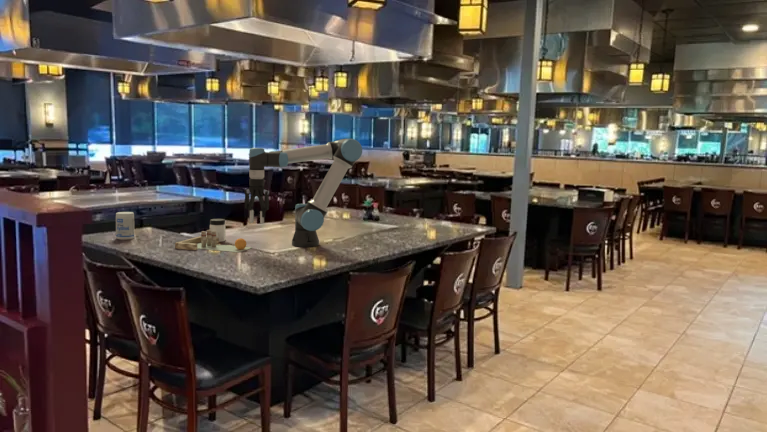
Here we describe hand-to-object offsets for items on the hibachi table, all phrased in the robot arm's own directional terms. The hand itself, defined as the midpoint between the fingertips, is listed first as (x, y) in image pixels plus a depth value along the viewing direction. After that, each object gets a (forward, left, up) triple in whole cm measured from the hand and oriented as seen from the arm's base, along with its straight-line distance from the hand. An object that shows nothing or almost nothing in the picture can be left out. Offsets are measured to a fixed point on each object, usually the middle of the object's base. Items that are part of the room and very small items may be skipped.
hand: (256, 223), depth 296 cm
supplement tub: (+83, -2, -15) cm, 85 cm away
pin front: (+25, 0, -15) cm, 29 cm away
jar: (+34, -18, -15) cm, 42 cm away
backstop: (+36, 0, -15) cm, 38 cm away
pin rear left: (+30, +2, -15) cm, 34 cm away
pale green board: (+22, 0, -15) cm, 27 cm away
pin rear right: (+30, -3, -15) cm, 34 cm away
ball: (+9, 0, -12) cm, 15 cm away
